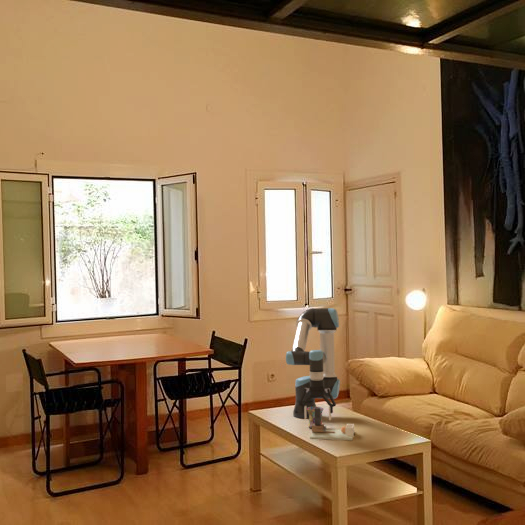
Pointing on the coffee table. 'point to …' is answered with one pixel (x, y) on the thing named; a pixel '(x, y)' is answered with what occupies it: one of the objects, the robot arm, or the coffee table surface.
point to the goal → (349, 429)
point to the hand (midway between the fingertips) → (317, 418)
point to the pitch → (331, 435)
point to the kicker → (318, 422)
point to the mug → (312, 415)
